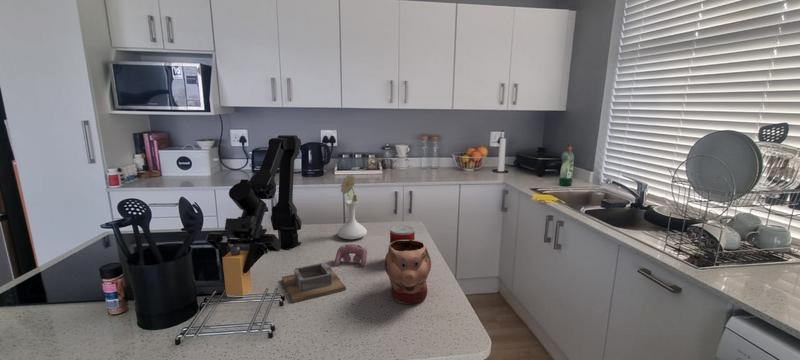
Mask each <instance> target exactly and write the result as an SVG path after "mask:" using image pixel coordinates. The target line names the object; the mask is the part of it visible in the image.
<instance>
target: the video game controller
mask: <svg viewBox="0 0 800 360" xmlns="http://www.w3.org/2000/svg"><path fill="white" fill-rule="evenodd" d="M351 254H352V255H353V254H354V256H353V257H351ZM367 256H368V250H367V249H366V247H364V246H362V245H359V244H353V243H350V244H349V243H348V244H343V245H341V246H340V247H338V249H337V251H336V254H335V259H334V264H335V266H337V267H338V266H339V264H340V263H341V261H342V259H343V262H344V263H349V262H351V260H352V261H353V262H354V263H356V264H357V263H361V267H362V268H363V267H365V266H366V263H367Z"/></svg>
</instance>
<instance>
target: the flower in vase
mask: <svg viewBox="0 0 800 360" xmlns="http://www.w3.org/2000/svg"><path fill="white" fill-rule="evenodd" d="M355 183H356V177H355V174H353V173H351V174H350V173H348V175H346V176H345V177H344V178H343V180H342V184H340V193H342V195H347V197H348V198H349V199H350V200H348V199H347V200H346V201H344V203H345V205H346V207H347V211H348V220H347V222H345V223H344V224H343V225H342V226H340V228H339V229H338V230H337V232H336V235H338V237H339V238H342V239H345V240H357V239H361V238H364V237H365V236H366V235H367V233H368V231H367V228H365V226H364V225H362V224H361V223H359V222H358V221H357V220H356V206H357V205H358V203H359V200H357V194H355V190H354V189H353V187H354V186H355ZM351 191H352V192H353V195H352V194H351V193H350V192H351ZM351 199H352V200H351Z"/></svg>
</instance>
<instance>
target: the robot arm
mask: <svg viewBox="0 0 800 360" xmlns="http://www.w3.org/2000/svg"><path fill="white" fill-rule="evenodd" d="M267 144H268V145H267V146H268V147H267V150H265V151H266V152H265V154H264V157H263V160H262V162H261V165H260V168H259V170H258V171H257V172H256V173H254V174H253V175H252V176H251V178H250V179H240V181H239V182H237V183H235V184H234V185H232V187H230V189H229V191H228V196H229V198H230V199H231V201H233V203H234V204H235V205H236V206H237V208H239V209H240V210H241V211H242V212H241V215H240V216H238V217H236V218H234V217H233V218H231V217H230V218H225V223H224V224H225V225H224V231H225V232H230V233H229V234H230V235H231V236H230V237H229V236H228V235H226V233H224V232H217V231H216V232H215V231H214V232H213V231H211V232H209V233H207V235H206V237H205V242H206V243H207V244H209V246H211V247H212V248H214V249H215V250H221V257H224V256H225V255H227V254H228V253H229V252H231V248H230V247H232V246H236V245H238V246H249V254H248V257H247V260H246V263H245V266H244V270H243V272H244V273H247V272H248V271H249V269H250V270H251V268H252V267H253V266H254V265H255V264H256V263H257V262H258V261H259V260H261V258H262V257H263V256H264V255H267V254H268V253H269V252H280V250H281V249H285V250H290V249H293V248H295V247H297V246H299V245H302V242H301V241H299V234H298V231H300V230H302V220H301V218H300V217H299V215H298V210H297V208H296V205H295V204H294V201H293V195H294V178H295V177H294V173H295V160H296V159H297V158H298V156H299V154H300V149H301V147H302V140H301V138H299V137H298V135H297V134H293V135H292V134H290V135H289V134H283V135H282V134H279V135H278V136H277V137H272V138H269V139H268V142H267ZM278 169H279V170H278ZM277 171H279V173H278V196H277V198H278V199H277V202H276V203H275V205H273V206H272V208H271V216H270V223H271V226H272V231H277V232H278V233H277V236H278V237H277V236H276V235H275V234H274V233H261V234H260V235H259V233H260V230H263V227H264V226H263V225H262V223H263V220H264V217H265V213H267V212H269V207H268V206H267V202H265V201H264V200H271V199H273V198H274V196H275V194H276V192H277V183H276V179H275V178H276V174H277ZM232 236H233V237H232ZM221 261H222V262H223V259H222V260H221ZM222 273H224V269H223V268H222Z"/></svg>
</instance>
